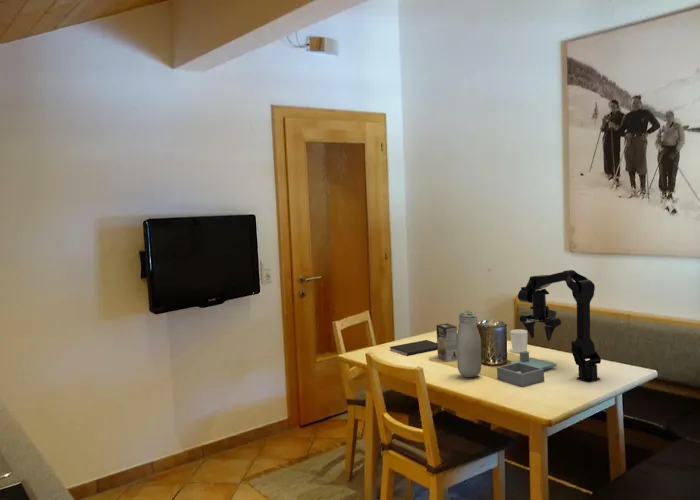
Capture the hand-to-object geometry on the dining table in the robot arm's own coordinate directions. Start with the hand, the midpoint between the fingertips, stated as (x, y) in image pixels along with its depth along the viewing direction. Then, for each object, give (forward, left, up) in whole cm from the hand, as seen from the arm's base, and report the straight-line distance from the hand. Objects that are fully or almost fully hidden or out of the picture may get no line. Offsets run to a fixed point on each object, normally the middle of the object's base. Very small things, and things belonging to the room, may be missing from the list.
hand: (540, 339), depth 266 cm
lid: (0, +5, -12) cm, 13 cm away
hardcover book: (+61, +23, -12) cm, 67 cm away
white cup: (+24, -11, -12) cm, 29 cm away
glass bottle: (+7, +34, -12) cm, 37 cm away
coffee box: (+36, +23, -12) cm, 45 cm away
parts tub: (-10, +22, -12) cm, 27 cm away
